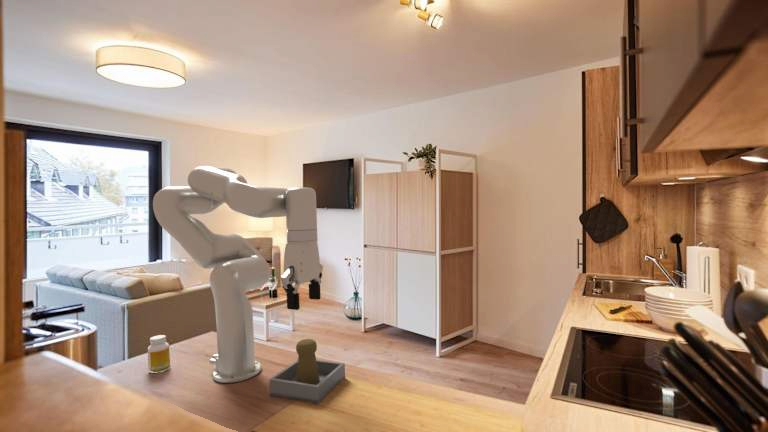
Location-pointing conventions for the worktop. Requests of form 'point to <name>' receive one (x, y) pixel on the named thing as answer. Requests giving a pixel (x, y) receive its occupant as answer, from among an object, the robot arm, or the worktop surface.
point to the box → (290, 389)
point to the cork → (307, 362)
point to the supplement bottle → (158, 354)
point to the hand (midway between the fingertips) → (304, 303)
